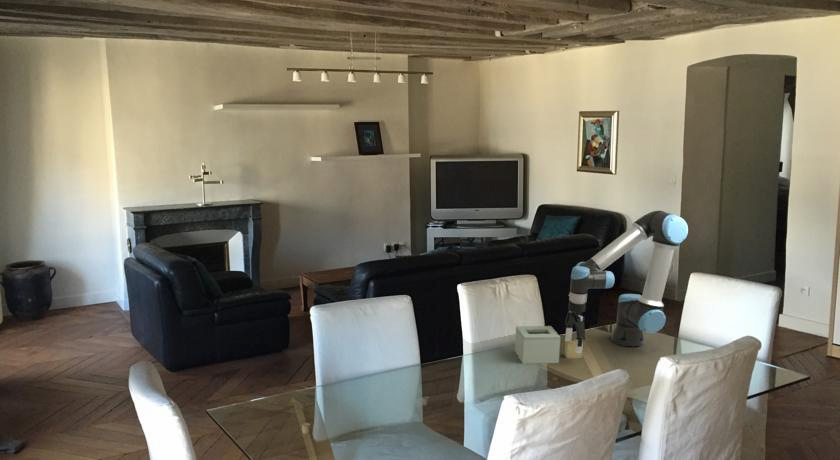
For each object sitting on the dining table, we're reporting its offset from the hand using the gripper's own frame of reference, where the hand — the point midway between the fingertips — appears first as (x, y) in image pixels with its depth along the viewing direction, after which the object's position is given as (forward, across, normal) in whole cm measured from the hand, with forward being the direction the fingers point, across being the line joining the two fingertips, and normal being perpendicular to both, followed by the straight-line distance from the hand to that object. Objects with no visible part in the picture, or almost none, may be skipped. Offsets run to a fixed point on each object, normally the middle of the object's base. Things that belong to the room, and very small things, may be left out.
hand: (572, 347), depth 320 cm
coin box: (+5, 0, -16) cm, 17 cm away
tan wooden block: (+4, 0, +1) cm, 5 cm away
